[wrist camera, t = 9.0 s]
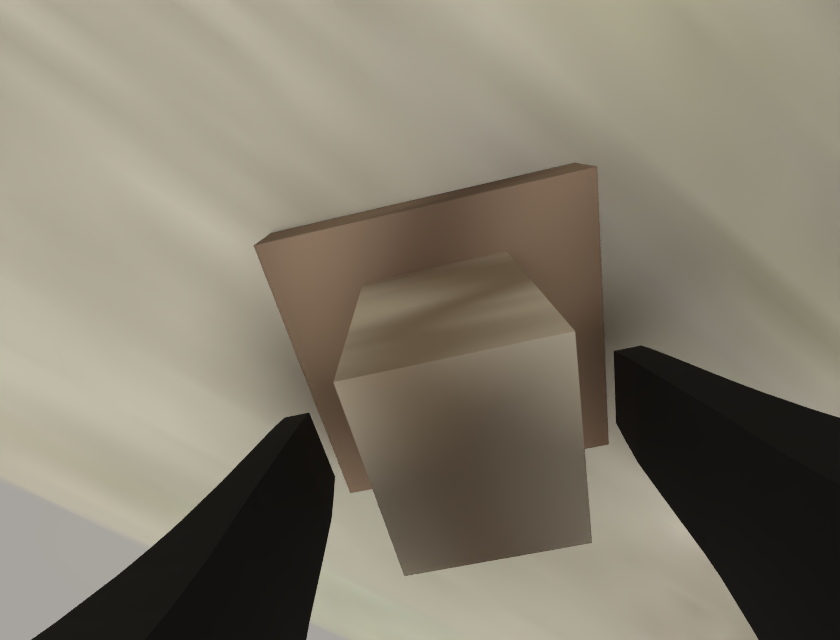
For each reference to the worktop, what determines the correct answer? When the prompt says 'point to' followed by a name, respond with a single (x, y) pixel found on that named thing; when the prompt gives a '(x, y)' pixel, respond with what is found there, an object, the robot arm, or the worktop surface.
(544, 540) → the birch block
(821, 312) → the worktop surface
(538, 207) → the walnut board
